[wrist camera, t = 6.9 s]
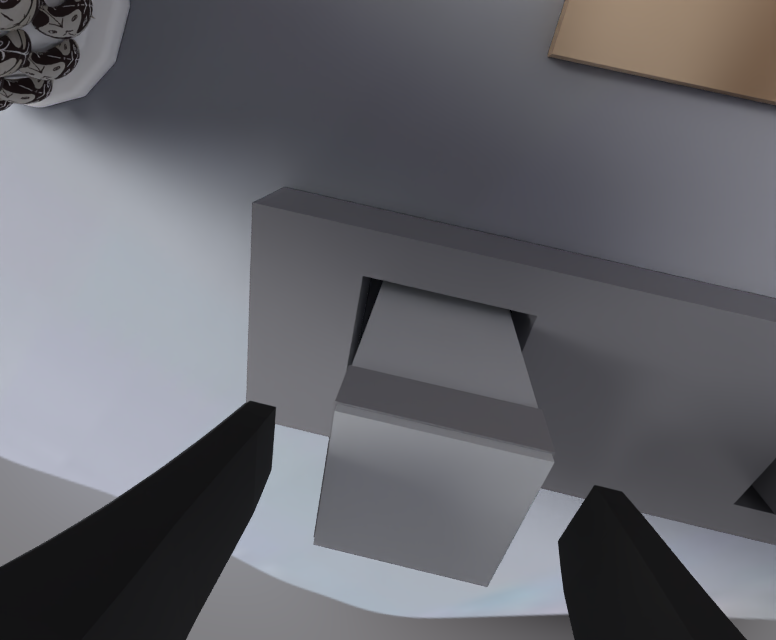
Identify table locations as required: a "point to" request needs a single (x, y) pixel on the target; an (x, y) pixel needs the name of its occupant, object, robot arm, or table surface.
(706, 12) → the cork mat
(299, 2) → the table surface
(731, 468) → the power strip
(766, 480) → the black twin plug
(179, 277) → the table surface
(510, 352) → the grey plug
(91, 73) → the decorative candle
